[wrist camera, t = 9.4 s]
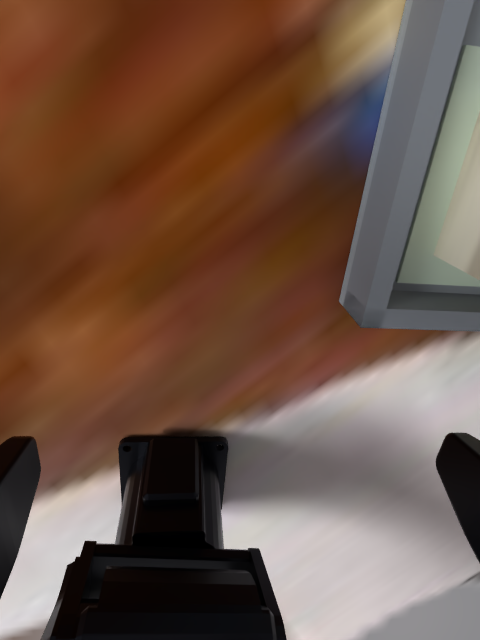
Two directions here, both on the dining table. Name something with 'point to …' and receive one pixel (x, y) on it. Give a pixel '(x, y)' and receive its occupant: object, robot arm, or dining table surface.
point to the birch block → (464, 215)
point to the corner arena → (418, 177)
